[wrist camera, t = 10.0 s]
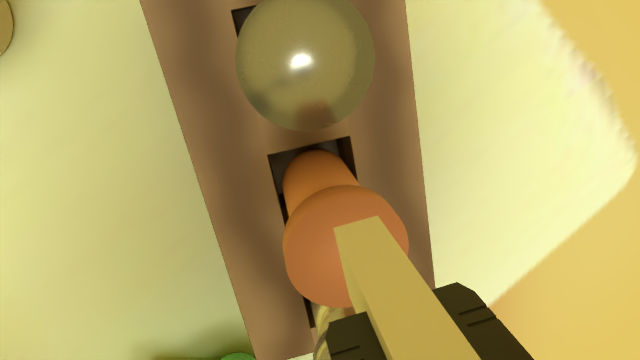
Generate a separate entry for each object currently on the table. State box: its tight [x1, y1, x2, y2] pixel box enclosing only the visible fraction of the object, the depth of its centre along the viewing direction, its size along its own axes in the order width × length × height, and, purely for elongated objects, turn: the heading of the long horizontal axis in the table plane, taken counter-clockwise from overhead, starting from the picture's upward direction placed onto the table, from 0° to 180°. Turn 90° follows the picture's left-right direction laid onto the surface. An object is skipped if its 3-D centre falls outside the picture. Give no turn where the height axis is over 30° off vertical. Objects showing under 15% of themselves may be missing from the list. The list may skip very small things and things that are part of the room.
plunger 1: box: [235, 0, 375, 131], centre depth 24 cm, size 6×6×11 cm
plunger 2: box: [310, 301, 356, 360], centre depth 31 cm, size 6×6×11 cm
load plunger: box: [282, 149, 409, 308], centre depth 26 cm, size 6×6×11 cm
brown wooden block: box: [140, 0, 435, 360], centre depth 34 cm, size 16×30×8 cm, turn 11°
